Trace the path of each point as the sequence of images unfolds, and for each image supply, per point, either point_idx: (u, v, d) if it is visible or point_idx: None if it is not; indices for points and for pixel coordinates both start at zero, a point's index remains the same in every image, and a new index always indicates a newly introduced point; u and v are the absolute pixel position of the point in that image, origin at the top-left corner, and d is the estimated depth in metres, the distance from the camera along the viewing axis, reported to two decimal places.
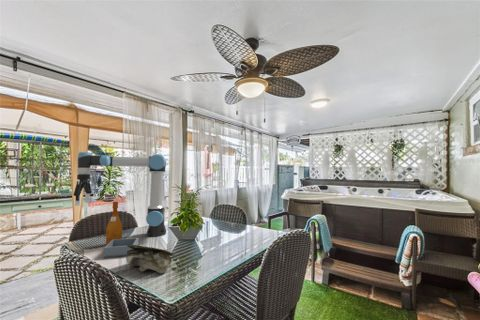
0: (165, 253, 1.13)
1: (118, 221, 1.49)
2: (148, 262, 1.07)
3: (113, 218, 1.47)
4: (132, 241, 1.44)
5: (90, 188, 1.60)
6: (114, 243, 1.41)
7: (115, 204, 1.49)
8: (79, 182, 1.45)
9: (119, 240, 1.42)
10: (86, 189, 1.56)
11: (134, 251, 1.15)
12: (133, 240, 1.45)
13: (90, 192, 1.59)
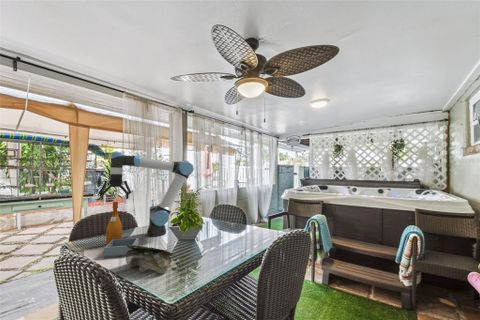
0: (165, 253, 1.12)
1: (118, 221, 1.49)
2: (148, 262, 1.07)
3: (113, 218, 1.47)
4: (132, 241, 1.44)
5: (128, 189, 1.52)
6: (114, 243, 1.41)
7: (115, 204, 1.49)
8: None
9: (119, 240, 1.42)
10: None
11: (134, 251, 1.15)
12: (133, 240, 1.45)
13: (127, 193, 1.52)
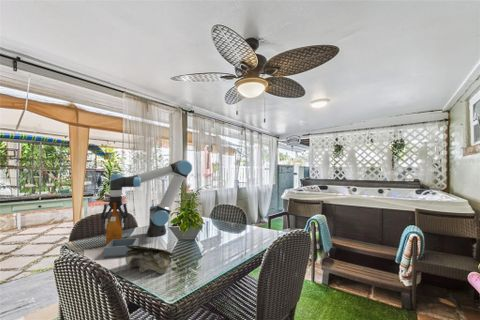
0: (165, 253, 1.12)
1: (118, 221, 1.49)
2: (148, 262, 1.07)
3: (113, 218, 1.47)
4: (132, 241, 1.44)
5: (125, 212, 1.51)
6: (114, 243, 1.41)
7: (115, 204, 1.49)
8: None
9: (119, 240, 1.42)
10: None
11: (133, 251, 1.15)
12: (133, 240, 1.45)
13: (124, 217, 1.50)
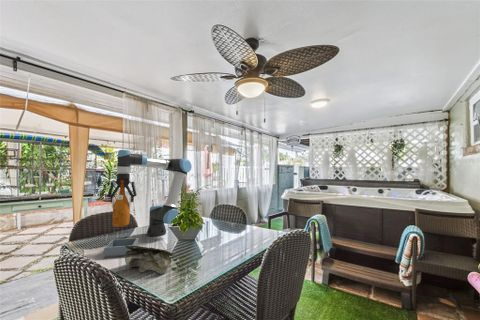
0: (165, 253, 1.12)
1: (125, 200, 1.39)
2: (148, 262, 1.07)
3: (120, 196, 1.37)
4: (132, 241, 1.44)
5: (133, 191, 1.41)
6: (114, 243, 1.41)
7: (122, 182, 1.39)
8: None
9: (119, 240, 1.42)
10: None
11: (133, 252, 1.14)
12: (133, 240, 1.45)
13: (131, 196, 1.40)
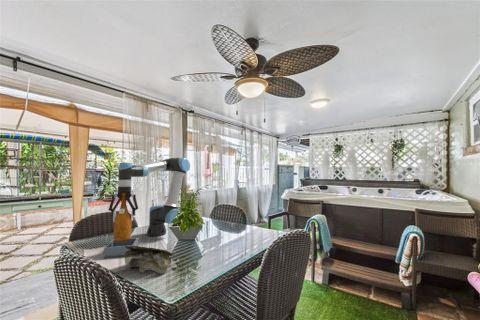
0: (165, 253, 1.12)
1: (127, 213, 1.36)
2: (148, 263, 1.07)
3: (122, 210, 1.35)
4: (132, 241, 1.44)
5: (135, 204, 1.39)
6: (114, 243, 1.41)
7: (124, 195, 1.37)
8: None
9: None
10: None
11: (133, 252, 1.14)
12: (133, 240, 1.45)
13: (133, 209, 1.38)
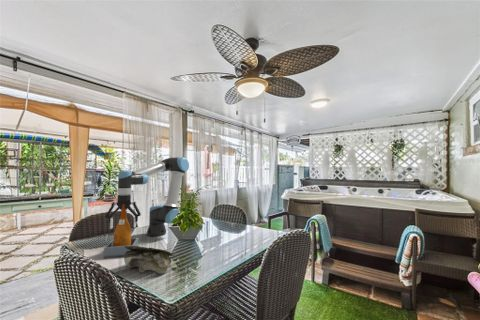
0: (165, 253, 1.12)
1: (127, 224, 1.36)
2: (148, 263, 1.06)
3: (122, 221, 1.35)
4: (132, 241, 1.44)
5: (137, 211, 1.39)
6: None
7: (124, 206, 1.37)
8: None
9: None
10: None
11: (132, 252, 1.14)
12: (133, 240, 1.45)
13: (136, 216, 1.38)
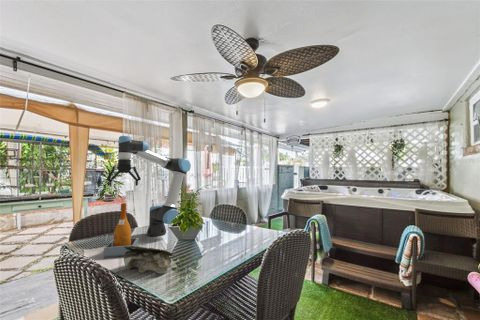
0: (165, 253, 1.12)
1: (127, 224, 1.36)
2: (148, 263, 1.06)
3: (121, 221, 1.34)
4: (132, 241, 1.44)
5: (137, 175, 1.44)
6: None
7: (123, 206, 1.36)
8: None
9: None
10: (132, 176, 1.44)
11: (132, 252, 1.13)
12: (133, 240, 1.45)
13: (136, 180, 1.43)
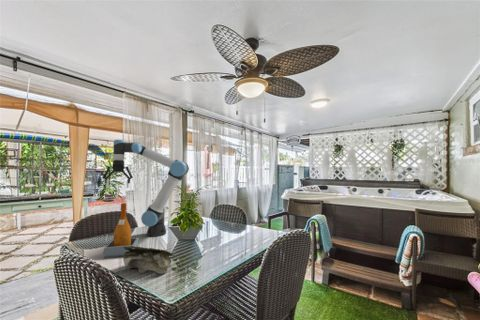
0: (165, 253, 1.12)
1: (127, 224, 1.36)
2: (148, 263, 1.06)
3: (121, 221, 1.34)
4: (132, 241, 1.44)
5: (129, 174, 1.64)
6: None
7: (123, 206, 1.36)
8: None
9: None
10: None
11: (132, 253, 1.13)
12: (133, 240, 1.45)
13: (128, 178, 1.63)
